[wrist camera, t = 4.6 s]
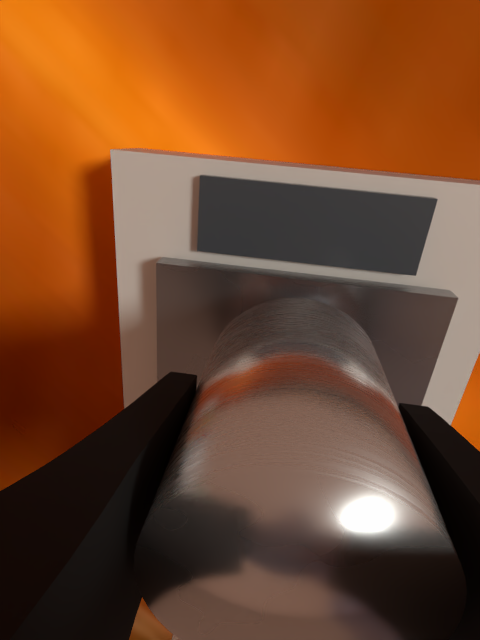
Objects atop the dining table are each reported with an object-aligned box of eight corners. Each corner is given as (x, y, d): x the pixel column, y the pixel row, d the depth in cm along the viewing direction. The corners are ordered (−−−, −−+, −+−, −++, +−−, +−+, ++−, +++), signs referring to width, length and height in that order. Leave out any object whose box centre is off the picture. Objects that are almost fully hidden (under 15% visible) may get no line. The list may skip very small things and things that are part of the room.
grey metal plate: (362, 553, 15) (365, 568, 15) (162, 520, 16) (158, 533, 15) (449, 290, 11) (458, 297, 10) (162, 256, 11) (155, 262, 11)
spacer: (404, 319, 9) (534, 523, 4) (349, 456, 11) (396, 710, 6) (223, 281, 9) (145, 434, 4) (199, 422, 11) (126, 643, 6)
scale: (385, 510, 17) (400, 565, 15) (147, 473, 18) (126, 520, 16) (499, 182, 12) (550, 192, 9) (139, 148, 12) (105, 149, 10)
